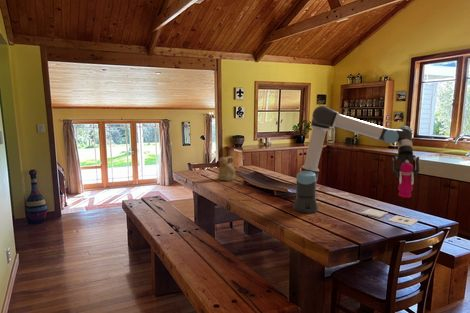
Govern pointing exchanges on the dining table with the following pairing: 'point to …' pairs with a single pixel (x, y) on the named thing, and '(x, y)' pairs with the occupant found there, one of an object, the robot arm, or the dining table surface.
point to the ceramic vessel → (226, 168)
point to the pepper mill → (405, 180)
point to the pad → (374, 213)
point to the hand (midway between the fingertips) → (406, 182)
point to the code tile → (403, 220)
